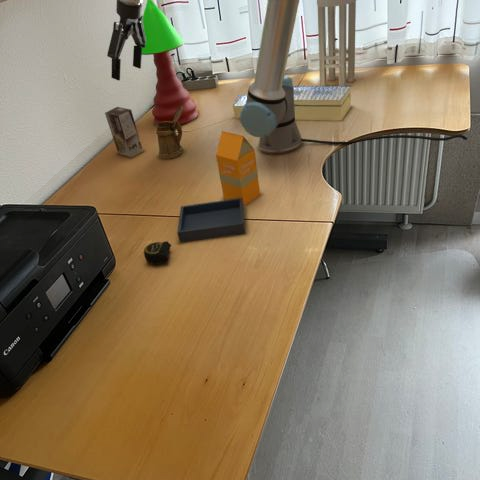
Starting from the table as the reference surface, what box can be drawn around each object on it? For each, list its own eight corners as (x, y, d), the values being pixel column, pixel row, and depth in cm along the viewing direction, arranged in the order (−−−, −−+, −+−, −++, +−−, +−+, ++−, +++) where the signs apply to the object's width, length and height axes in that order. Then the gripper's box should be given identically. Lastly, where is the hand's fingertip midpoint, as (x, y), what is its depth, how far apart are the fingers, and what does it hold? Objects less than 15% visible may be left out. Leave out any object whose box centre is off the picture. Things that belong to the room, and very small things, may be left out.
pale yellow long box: (351, 106, 192) (351, 78, 185) (340, 121, 182) (340, 92, 175) (248, 105, 209) (245, 79, 202) (234, 118, 200) (230, 92, 193)
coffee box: (144, 151, 188) (131, 109, 177) (131, 158, 185) (118, 115, 174) (130, 147, 193) (117, 106, 182) (117, 153, 190) (103, 112, 179)
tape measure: (169, 265, 128) (165, 254, 126) (144, 267, 129) (140, 256, 127) (172, 250, 133) (169, 239, 131) (148, 253, 134) (145, 241, 132)
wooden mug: (186, 160, 176) (175, 110, 164) (155, 158, 181) (142, 109, 169) (197, 149, 182) (187, 100, 170) (166, 148, 187) (154, 100, 175)
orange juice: (244, 205, 146) (234, 141, 132) (223, 198, 151) (212, 136, 137) (260, 194, 149) (252, 130, 136) (240, 188, 154) (230, 125, 141)
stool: (346, 91, 205) (347, -7, 181) (313, 89, 212) (310, -5, 189) (360, 78, 213) (363, -16, 190) (328, 77, 221) (327, -14, 197)
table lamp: (187, 127, 200) (159, 0, 170) (146, 127, 207) (112, 5, 176) (205, 109, 213) (183, -12, 183) (166, 110, 220) (138, -7, 189)
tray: (243, 207, 145) (242, 197, 143) (245, 233, 134) (243, 223, 132) (183, 215, 147) (180, 206, 144) (179, 242, 136) (177, 232, 134)
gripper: (139, -11, 154) (135, 58, 170) (95, 4, 138) (95, 80, 153) (159, -3, 154) (154, 66, 169) (118, 13, 137) (116, 88, 152)
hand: (126, 72), depth 161 cm, fingers open, 13 cm apart
